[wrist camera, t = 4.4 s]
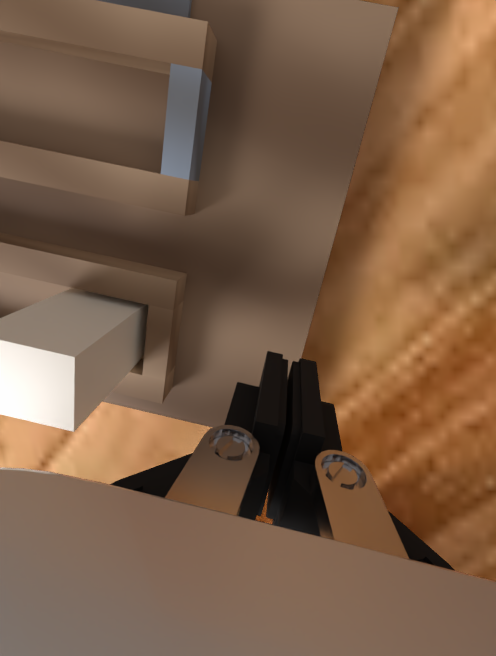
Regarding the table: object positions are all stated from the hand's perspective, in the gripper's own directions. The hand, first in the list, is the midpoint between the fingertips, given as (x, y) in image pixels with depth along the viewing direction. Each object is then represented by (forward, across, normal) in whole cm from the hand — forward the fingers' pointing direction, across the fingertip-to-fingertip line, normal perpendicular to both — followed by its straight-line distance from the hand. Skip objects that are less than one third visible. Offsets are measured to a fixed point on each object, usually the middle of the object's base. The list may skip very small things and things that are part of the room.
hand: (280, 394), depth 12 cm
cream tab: (+3, +8, 0) cm, 8 cm away
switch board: (+6, +13, -4) cm, 15 cm away
